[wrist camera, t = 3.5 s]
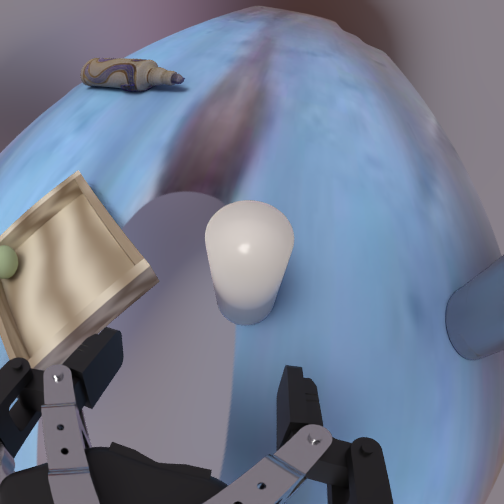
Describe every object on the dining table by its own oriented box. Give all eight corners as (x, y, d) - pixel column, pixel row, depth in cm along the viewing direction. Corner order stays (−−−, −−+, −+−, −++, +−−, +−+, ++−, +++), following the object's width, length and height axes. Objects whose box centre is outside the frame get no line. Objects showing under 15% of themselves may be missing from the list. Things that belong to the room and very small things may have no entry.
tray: (87, 188, 33) (78, 170, 30) (159, 281, 27) (150, 265, 24) (-6, 269, 26) (-21, 257, 23) (39, 386, 21) (19, 381, 18)
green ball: (19, 249, 27) (2, 233, 24) (27, 270, 26) (8, 254, 23) (0, 268, 26) (-17, 253, 22) (7, 290, 25) (-13, 276, 21)
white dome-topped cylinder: (245, 261, 29) (249, 187, 19) (285, 298, 27) (311, 236, 18) (205, 297, 27) (187, 233, 17) (245, 337, 25) (249, 294, 16)
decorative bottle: (82, 92, 47) (75, 68, 41) (106, 76, 51) (100, 52, 45) (170, 104, 43) (166, 71, 37) (195, 86, 46) (193, 55, 40)
